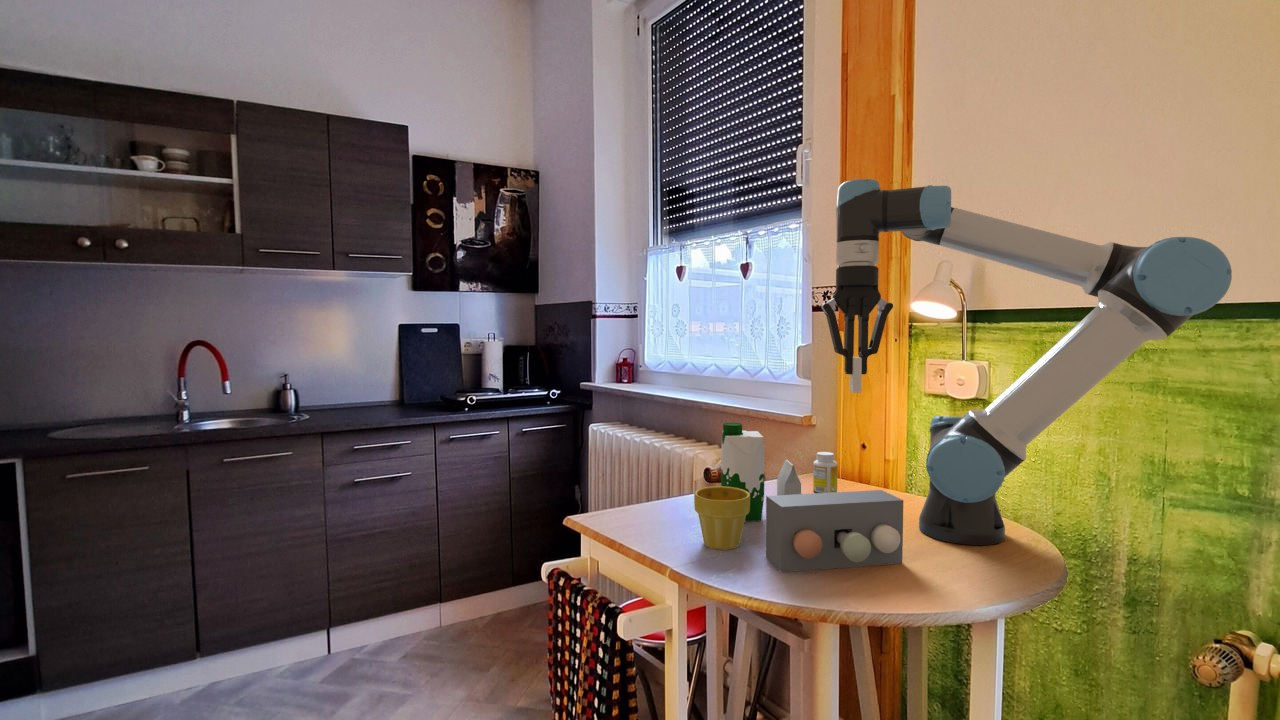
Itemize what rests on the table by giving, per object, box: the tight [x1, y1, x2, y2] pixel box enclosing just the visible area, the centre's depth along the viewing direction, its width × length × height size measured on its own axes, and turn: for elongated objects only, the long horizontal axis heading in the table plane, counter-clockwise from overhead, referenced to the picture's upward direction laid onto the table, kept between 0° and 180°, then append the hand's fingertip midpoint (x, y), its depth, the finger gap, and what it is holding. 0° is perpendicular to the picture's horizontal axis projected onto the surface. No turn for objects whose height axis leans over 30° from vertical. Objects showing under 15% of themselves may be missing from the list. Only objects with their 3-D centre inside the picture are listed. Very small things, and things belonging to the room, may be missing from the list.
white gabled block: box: [776, 459, 802, 495], centre depth 147 cm, size 4×7×10 cm, turn 2°
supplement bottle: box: [812, 451, 838, 494], centre depth 156 cm, size 6×6×10 cm
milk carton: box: [720, 422, 765, 522], centre depth 139 cm, size 9×9×20 cm
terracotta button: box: [793, 529, 822, 559], centre depth 109 cm, size 4×6×4 cm
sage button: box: [835, 531, 871, 562], centre depth 107 cm, size 4×6×4 cm
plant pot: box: [693, 485, 750, 551], centre depth 121 cm, size 10×10×10 cm
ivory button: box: [871, 524, 900, 553], centre depth 111 cm, size 4×6×4 cm
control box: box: [765, 489, 904, 573], centre depth 113 cm, size 22×7×11 cm, turn 100°
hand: (855, 391), depth 122 cm, fingers closed
